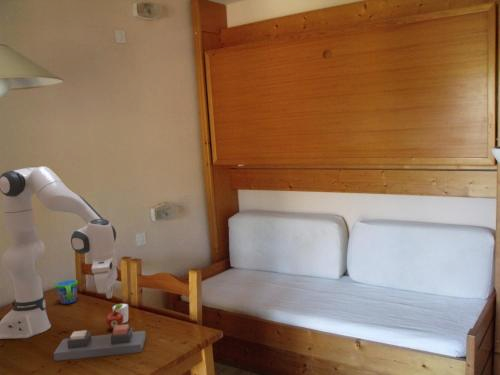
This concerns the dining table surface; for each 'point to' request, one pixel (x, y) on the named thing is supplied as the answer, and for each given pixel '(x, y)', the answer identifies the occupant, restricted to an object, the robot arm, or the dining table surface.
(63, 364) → the dining table surface
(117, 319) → the apple
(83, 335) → the key ivory
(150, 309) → the dining table surface
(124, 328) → the key brick
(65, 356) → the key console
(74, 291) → the snack cup
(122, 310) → the white short cylinder
